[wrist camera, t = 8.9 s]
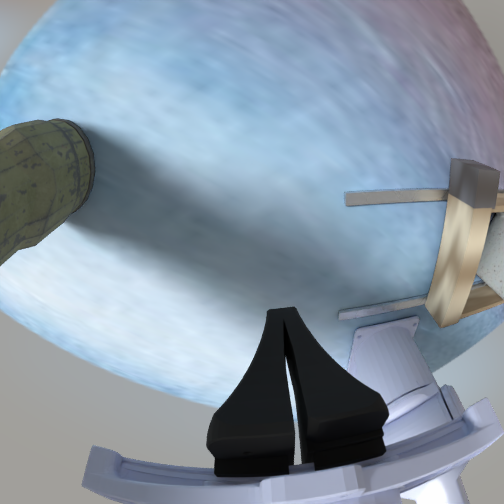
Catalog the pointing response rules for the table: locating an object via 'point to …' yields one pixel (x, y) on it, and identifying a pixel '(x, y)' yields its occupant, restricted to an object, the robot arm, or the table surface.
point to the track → (394, 197)
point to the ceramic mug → (493, 256)
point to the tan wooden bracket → (464, 243)
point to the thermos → (41, 180)
